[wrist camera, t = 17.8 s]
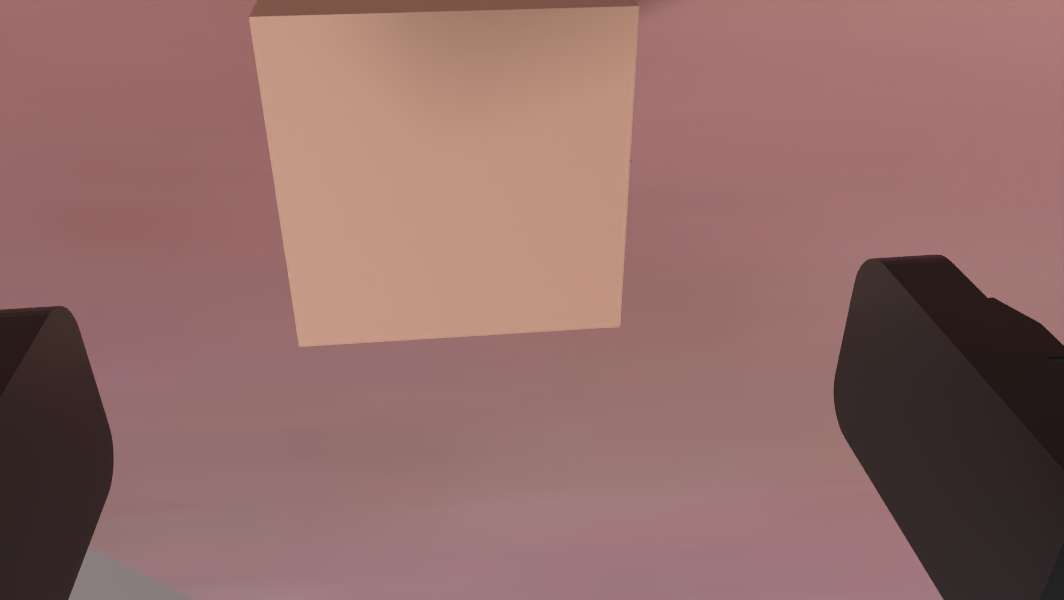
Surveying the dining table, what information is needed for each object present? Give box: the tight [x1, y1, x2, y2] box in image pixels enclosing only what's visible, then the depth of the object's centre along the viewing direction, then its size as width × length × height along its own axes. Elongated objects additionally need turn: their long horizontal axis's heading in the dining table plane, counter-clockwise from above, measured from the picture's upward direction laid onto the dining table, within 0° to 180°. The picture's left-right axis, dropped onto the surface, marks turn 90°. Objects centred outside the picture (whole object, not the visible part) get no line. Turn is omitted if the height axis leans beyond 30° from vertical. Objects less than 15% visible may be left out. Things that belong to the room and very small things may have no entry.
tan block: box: [249, 0, 639, 347], centre depth 15 cm, size 5×5×5 cm
